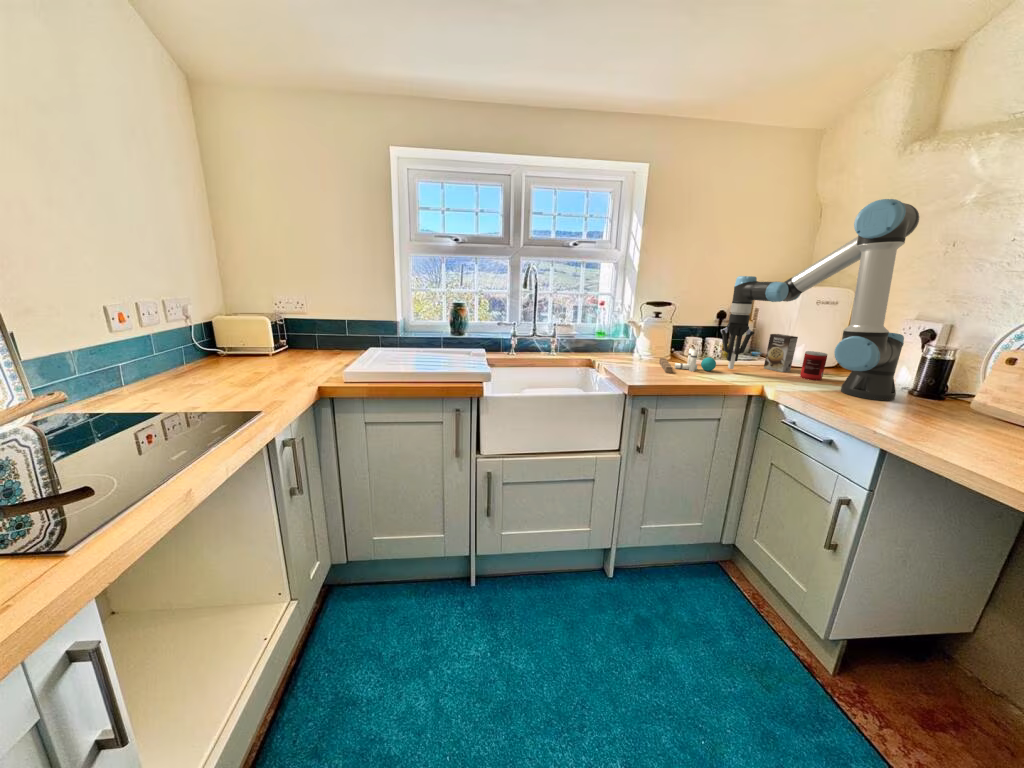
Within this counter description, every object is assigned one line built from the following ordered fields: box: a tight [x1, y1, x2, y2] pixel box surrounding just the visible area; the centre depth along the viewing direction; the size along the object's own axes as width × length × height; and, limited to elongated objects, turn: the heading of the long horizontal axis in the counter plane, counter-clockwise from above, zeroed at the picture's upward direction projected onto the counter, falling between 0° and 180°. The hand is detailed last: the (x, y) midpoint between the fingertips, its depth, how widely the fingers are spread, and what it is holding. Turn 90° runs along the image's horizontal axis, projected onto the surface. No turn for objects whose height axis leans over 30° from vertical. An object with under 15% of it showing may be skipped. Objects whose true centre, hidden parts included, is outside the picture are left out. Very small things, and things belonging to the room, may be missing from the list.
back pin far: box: [686, 347, 696, 364], centre depth 184 cm, size 2×2×9 cm
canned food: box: [799, 350, 828, 381], centre depth 172 cm, size 8×8×11 cm
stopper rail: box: [658, 357, 673, 374], centre depth 184 cm, size 22×2×2 cm, turn 168°
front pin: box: [674, 362, 698, 371], centre depth 183 cm, size 2×2×9 cm
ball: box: [700, 357, 717, 372], centre depth 181 cm, size 6×6×6 cm
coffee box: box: [763, 333, 799, 373], centre depth 187 cm, size 9×6×16 cm
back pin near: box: [688, 349, 699, 372], centre depth 179 cm, size 2×2×9 cm
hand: (730, 368), depth 179 cm, fingers closed
